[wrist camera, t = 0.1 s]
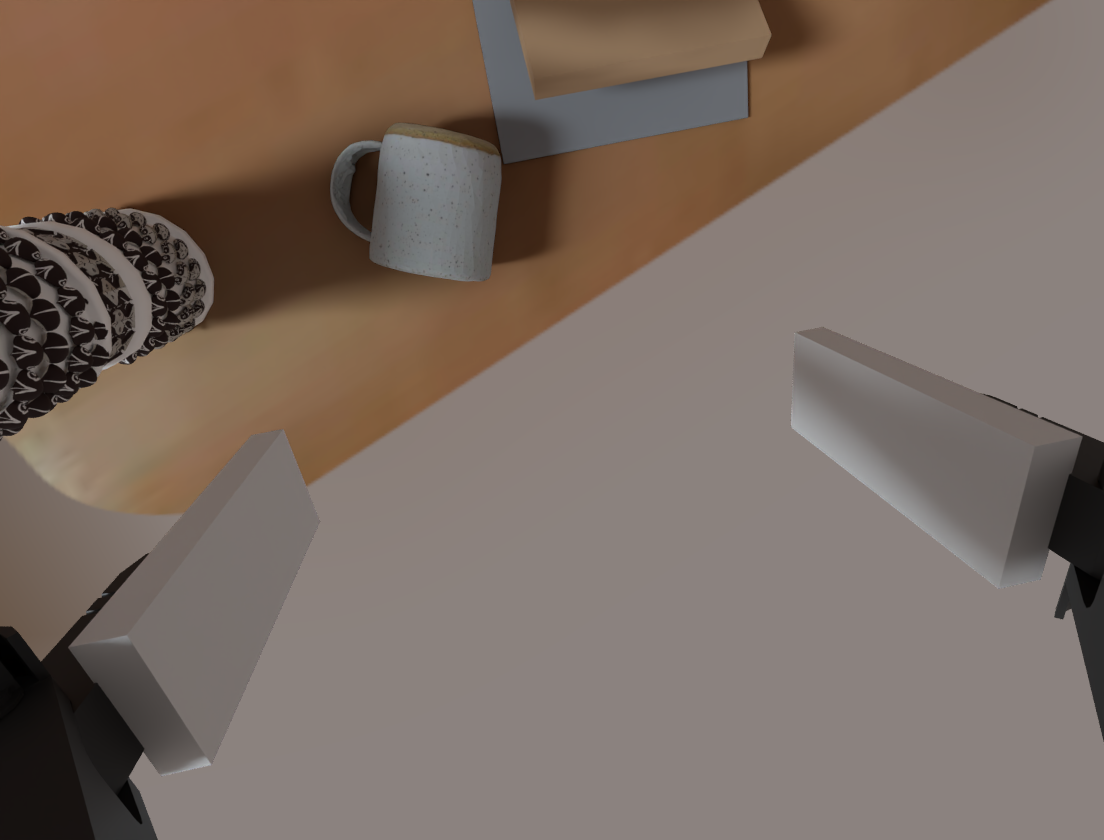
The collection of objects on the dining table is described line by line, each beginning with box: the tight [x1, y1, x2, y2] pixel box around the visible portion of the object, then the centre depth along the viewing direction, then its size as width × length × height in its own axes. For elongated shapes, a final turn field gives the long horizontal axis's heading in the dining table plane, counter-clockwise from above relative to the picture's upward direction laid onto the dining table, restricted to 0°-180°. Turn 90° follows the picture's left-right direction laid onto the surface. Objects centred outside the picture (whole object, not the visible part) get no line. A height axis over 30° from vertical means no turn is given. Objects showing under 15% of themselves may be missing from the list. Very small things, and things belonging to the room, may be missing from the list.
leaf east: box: [510, 0, 771, 100], centre depth 31 cm, size 9×13×1 cm
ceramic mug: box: [330, 123, 501, 281], centre depth 33 cm, size 11×8×8 cm
